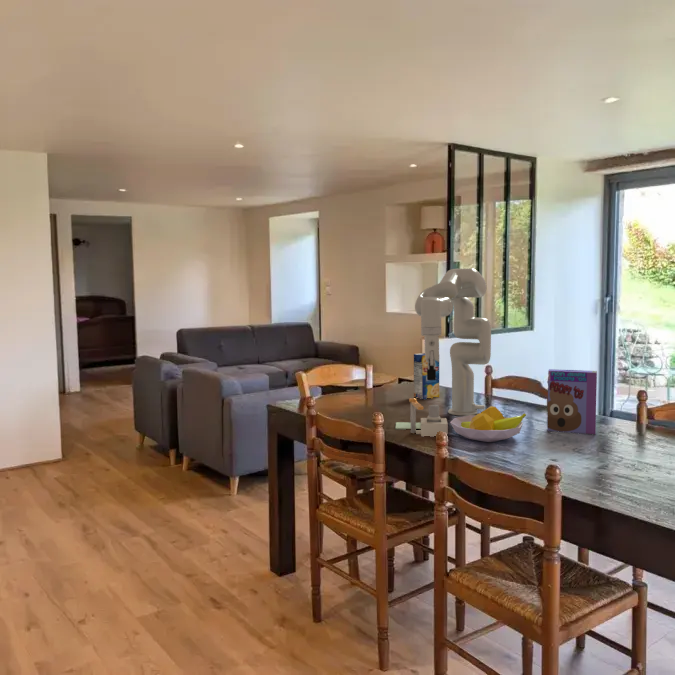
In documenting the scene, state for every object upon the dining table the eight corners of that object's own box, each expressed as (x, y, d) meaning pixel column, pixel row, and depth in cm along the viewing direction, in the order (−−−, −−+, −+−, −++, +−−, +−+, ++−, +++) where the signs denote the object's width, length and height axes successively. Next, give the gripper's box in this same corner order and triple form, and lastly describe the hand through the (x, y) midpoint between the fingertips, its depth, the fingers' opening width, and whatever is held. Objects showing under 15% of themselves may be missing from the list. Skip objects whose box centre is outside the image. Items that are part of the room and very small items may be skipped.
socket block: (446, 430, 257) (446, 400, 256) (447, 436, 247) (447, 405, 246) (410, 430, 258) (410, 399, 257) (410, 436, 249) (410, 404, 247)
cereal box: (547, 431, 254) (548, 370, 251) (548, 428, 258) (549, 368, 256) (595, 434, 247) (596, 372, 245) (595, 431, 252) (596, 370, 249)
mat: (420, 423, 269) (420, 422, 269) (420, 429, 259) (420, 428, 259) (396, 423, 270) (396, 422, 270) (395, 429, 260) (395, 427, 260)
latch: (424, 409, 240) (424, 405, 239) (416, 409, 239) (416, 405, 239) (416, 401, 254) (416, 397, 254) (408, 402, 254) (408, 398, 253)
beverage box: (413, 397, 327) (413, 354, 325) (430, 395, 333) (430, 352, 331) (422, 399, 321) (422, 355, 319) (439, 397, 327) (439, 353, 325)
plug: (440, 432, 255) (440, 404, 254) (440, 435, 250) (440, 406, 249) (427, 431, 255) (427, 404, 254) (427, 435, 250) (427, 406, 249)
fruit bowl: (436, 435, 250) (436, 406, 249) (488, 426, 263) (489, 398, 262) (487, 451, 226) (487, 419, 224) (542, 441, 239) (543, 410, 238)
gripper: (442, 333, 236) (442, 383, 238) (440, 329, 251) (440, 376, 253) (421, 333, 237) (421, 383, 239) (420, 329, 252) (421, 376, 254)
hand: (431, 379), depth 246 cm, fingers closed
